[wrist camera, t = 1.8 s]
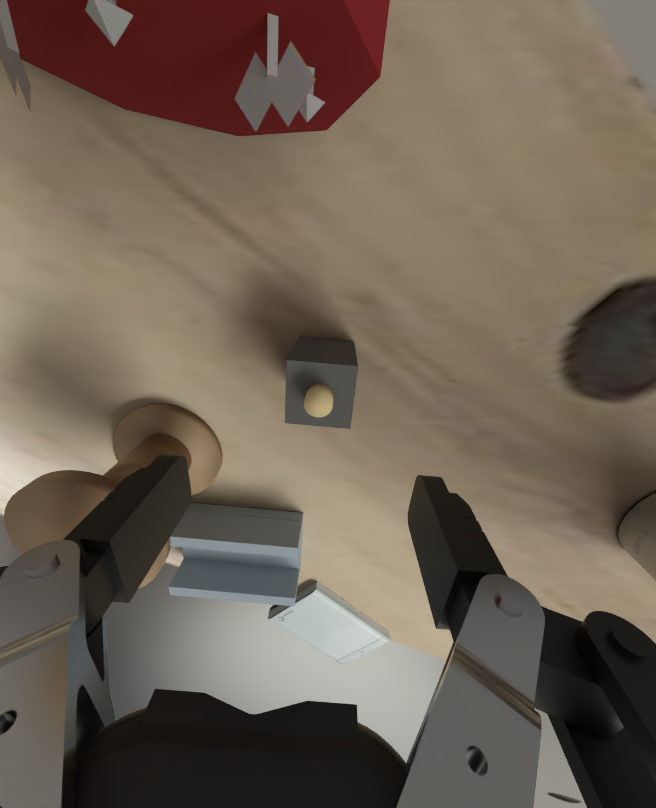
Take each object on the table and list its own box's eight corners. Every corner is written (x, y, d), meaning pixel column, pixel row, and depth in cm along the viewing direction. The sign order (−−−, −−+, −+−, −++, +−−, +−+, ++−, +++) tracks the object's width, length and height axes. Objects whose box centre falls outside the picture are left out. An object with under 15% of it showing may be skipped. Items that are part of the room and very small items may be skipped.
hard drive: (266, 620, 35) (341, 667, 38) (316, 590, 32) (391, 642, 36) (270, 606, 37) (341, 652, 40) (317, 575, 34) (389, 627, 37)
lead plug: (354, 341, 22) (359, 373, 16) (348, 391, 24) (350, 439, 17) (299, 336, 22) (282, 366, 16) (297, 387, 24) (281, 432, 17)
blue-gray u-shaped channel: (303, 512, 29) (297, 547, 26) (299, 568, 33) (294, 606, 29) (180, 501, 29) (157, 534, 26) (189, 558, 33) (170, 595, 29)
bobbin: (218, 408, 25) (147, 489, 16) (225, 493, 29) (171, 599, 20) (110, 399, 25) (-22, 474, 16) (131, 485, 29) (34, 586, 20)
